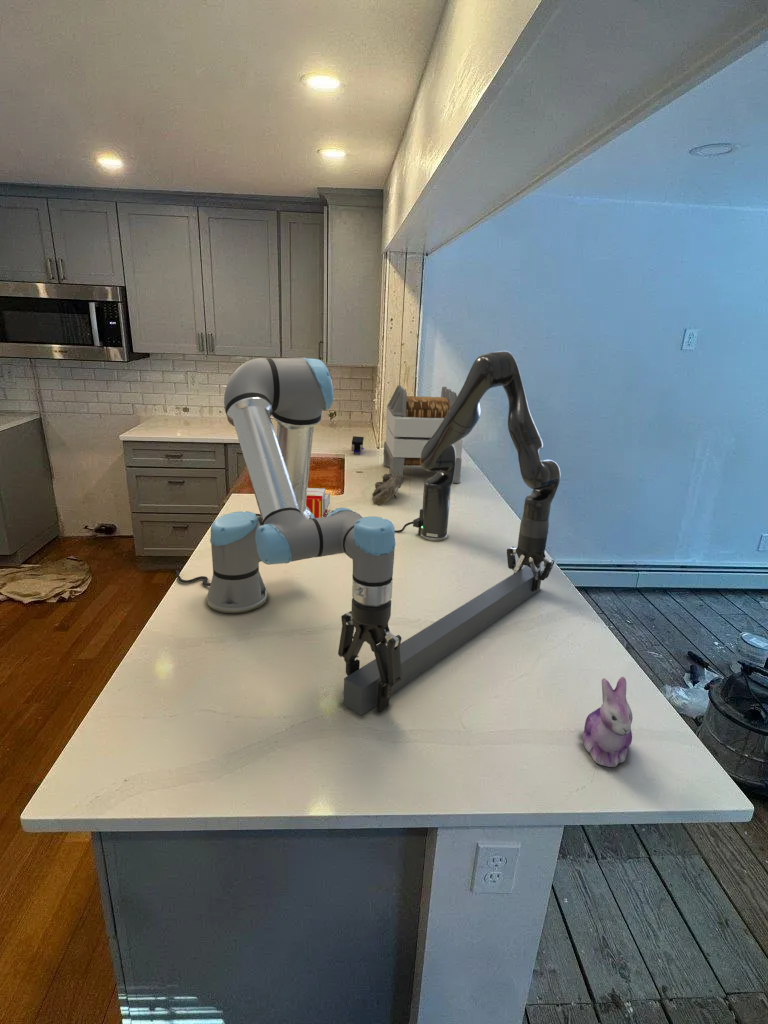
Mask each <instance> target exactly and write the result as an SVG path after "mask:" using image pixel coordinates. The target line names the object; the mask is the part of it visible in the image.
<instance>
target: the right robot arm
mask: <svg viewBox="0 0 768 1024" xmlns="http://www.w3.org/2000/svg"><path fill="white" fill-rule="evenodd" d="M497 387H502V388H503V390H504V391H505V394H506V398H507V400H508V413H507V429H508V433H509V436H510V438H511V441H512V444H513V446H514V448H515V450H516V452H517V460H518V466H519V469H520V470H519V471H520V476H521V478H522V480H523V482H524V484H525V485H526V486H527V487H528V488H530V489H532V491H531V492H530V493H528V494H527V495H526V497H525V498H524V502H523V508H522V509H523V510H522V516H521V519H520V526H519V532H518V538H517V547H514V546H510V547H508V548H507V549H506V559H507V568H508V569H509V570H512V571H513V574H514V573H516V572H518V571H519V570H521V569H522V568H524V567H526V566H528V567H530V568H531V570H532V572H533V576H534V579H533V584H532V591H533V592H535V591H536V590H538V589H539V587H540V588H541V585H540V580H541V582H542V581H545V580H546V579H548V578H549V576H550V574H551V571H552V569H553V567H554V566H555V560H554V559H549V558H548V557H546V554H545V552H546V547H547V540H548V534H549V526H550V523H549V522H550V515H551V507H552V503H553V500H554V499H555V497H556V493H557V490H558V488H559V485H560V481H561V467H560V466H559V465H558V463H557V462H556V461H554V460H552V459H544V460H541V457H540V452H541V451H542V450H543V448H544V443H543V439H542V437H541V435H540V433H539V431H538V428H537V426H536V424H535V422H534V419H533V417H532V414H531V411H530V408H529V403H528V400H527V395H526V392H525V388H524V384H523V380H522V376H521V372H520V369H519V366H518V363H517V360H516V358H515V357H514V355H513V354H512V353H511V352H510V351H508V350H498V351H493V352H487V353H483V354H481V355H479V356H477V358H475V360H474V361H473V363H472V365H471V367H470V370H469V372H468V374H467V375H466V379H465V381H464V383H463V385H462V387H461V389H460V391H459V393H458V394H457V398H456V400H455V401H454V403H453V404H452V406H451V407H450V409H449V411H448V412H447V414H446V416H445V418H444V420H443V421H442V423H441V424H440V426H439V427H438V429H437V430H436V432H435V433H434V435H433V436H432V437H431V438H430V439H429V441H428V442H427V443H426V444H425V446H424V447H423V449H422V452H421V456H420V462H421V466H420V467H422V468H423V470H424V471H427V472H435V474H433V475H432V476H430V477H428V478H427V479H425V480H424V482H423V493H422V496H423V497H422V506H421V508H420V509H419V516H418V517H417V518H414V519H413V521H409V522H407V523H405V524H404V525H403V527H401V529H399V530H395V533H402V532H404V531H405V529H406V527H408V526H410V525H412V527H413V528H418V530H417V535H418V536H420V538H421V539H424V540H426V541H432V542H440V541H444V540H446V539H447V538H448V525H449V517H450V516H449V514H450V504H451V494H452V493H451V491H452V486H453V484H454V483H453V478H454V470H455V464H456V451H455V448H454V446H453V444H454V443H456V442H458V441H460V440H463V439H464V438H466V437H467V436H468V435H469V434H470V433H471V432H472V431H473V429H474V428H475V427H476V425H477V424H478V422H479V419H480V418H481V411H482V410H481V404H480V401H481V399H482V398H483V396H484V395H485V394H486V393H487V391H489V390H490V389H493V388H497ZM255 514H256V516H257V517H261V514H260V513H255ZM516 556H517V559H518V560H516ZM541 563H543V567H544V568H543V570H542V564H541ZM541 570H542V571H543V572H542V573H541Z"/></svg>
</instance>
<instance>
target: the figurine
mask: <svg viewBox="0 0 768 1024" xmlns="http://www.w3.org/2000/svg"><path fill="white" fill-rule="evenodd" d="M601 693H602V695H601V696H602V704H601V706H600V707H597V709H595V710H594V711H592V712H590V713H589V714H588V715H587V717H586V719H585V722H584V727H583V728H584V729H583V734H582V739H583V746H584V748H585V750H586V751H587V752H588V754H589V755H590V756H591V758H592V760H593V761H594V763H595V764H598V765H600V766H604V767H608V768H615V767H617V766H618V764H621V763H625V761H626V759H627V754H628V751H629V747H630V746H631V744H632V742H633V731H632V722H633V712H632V709H631V707H630V704H629V702H628V700H627V679H626V678H625V677H624V676H621V677H619V679H618V680H617V682H616V686H615V688H613V687H612V685H611V683H610V682H609V680H607V678H605V677H603V678H602V679H601Z"/></svg>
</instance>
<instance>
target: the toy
mask: <svg viewBox="0 0 768 1024" xmlns="http://www.w3.org/2000/svg"><path fill="white" fill-rule="evenodd" d="M326 492H327V491H326V488H324V487H323V488H321V487H319V488H318V487H307V497H306V506H307V507H308V508H309V509H310V512H311V513H312V514H313V515H314V517H315V518H321V517H326V516H327V515H326V514H327V512H328V507H329V506H330V504H331V493H330V492H331V491H330V492H327V493H326Z"/></svg>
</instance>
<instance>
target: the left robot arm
mask: <svg viewBox="0 0 768 1024" xmlns="http://www.w3.org/2000/svg"><path fill="white" fill-rule="evenodd" d="M228 379H229V380H228V382H227V384H226V387H225V391H224V396H223V406H224V411H225V416H226V419H227V421H228V423H229V424H230V425H232V426H233V427H234V429H235V432H236V435H237V439H238V442H239V446H240V449H241V454H242V456H243V460H244V464H245V466H246V470H247V474H248V476H249V480H250V484H251V487H252V490H253V494H254V497H255V500H256V503H257V507H258V511H259V514H261V516H256V514H257V513H254V512H252V511H247V510H246V511H243V510H242V511H239V510H238V511H233V512H229V513H226V514H223V515H221V516H219V517H217V518H216V519H215V520H214V521H213V522H212V524H211V526H210V539H209V542H210V547H211V548H210V549H211V559H212V560H211V561H212V578H211V582H208V581H209V578H208V576H204V575H202V576H197V577H193V578H191V579H183V578H182V577H181V575H180V570H179V569H177V570H175V571H174V572H173V573H174V574H175V575H176V578H177V580H178V582H180V583H181V584H190V583H193V582H196V581H201V580H202V585H203V586H205V587H208V591H207V605H208V606H209V607H210V608H211V609H212V610H214V611H216V612H219V613H223V614H244V613H247V612H248V613H249V612H251V611H254V610H257V609H258V608H260V607H261V606H263V605H264V604H265V603H266V602H267V599H268V589H267V587H266V584H265V583H264V580H263V578H262V576H261V573H260V563H261V562H262V563H263V564H265V565H269V566H270V565H279V564H281V565H282V564H289V563H291V562H292V563H293V562H296V561H302V560H307V559H314V558H321V557H327V556H335V555H340V554H345V555H346V556H347V557H348V558H350V559H351V560H352V583H351V585H352V587H351V588H352V590H351V597H352V598H351V610H350V611H348V612H346V613H344V614H342V615H341V616H340V618H341V631H340V639H339V645H338V651H337V654H338V655H337V656H339V657H343V660H344V662H345V675H347V676H349V675H350V674H352V673H353V672H355V671H357V670H358V669H360V665H361V664H360V663H361V661H360V660H359V659H358V658H359V657H360V655H359V653H360V651H361V649H362V647H363V645H364V643H365V642H366V643H367V644H368V645H369V646H370V650H371V652H373V654H374V659H376V662H377V666H378V670H379V673H380V677H381V681H380V682H378V698H377V705H376V712H379V713H381V712H382V711H383V710H385V709H386V708H388V707H389V706H390V697H391V696H392V695H393V694H392V687H393V686H394V685H396V684H397V683H399V682H400V681H401V680H402V674H401V660H400V644H401V643H402V636H401V635H400V634H397V635H394V634H393V633H392V632H391V631H390V627H389V621H390V619H391V616H392V598H393V581H394V580H393V579H394V578H393V577H394V563H395V549H396V538H395V537H396V535H395V534H396V532H395V531H396V529H395V525H394V524H393V522H392V521H391V520H389V519H388V518H382V517H381V516H362V515H360V513H358V512H356V511H354V510H352V509H350V508H348V507H336V508H335V509H333V510H332V511H330V512H329V513H327V515H325V517H321V518H315V517H314V515H313V514H312V513H311V512H310V509H309V508H308V507H307V506H306V497H307V488H309V476H310V469H311V468H310V466H311V458H312V457H311V456H312V448H313V437H314V428H315V426H316V425H317V424H319V423H320V422H321V420H322V415H323V411H327V410H330V409H331V407H332V406H333V403H334V387H333V386H334V385H333V381H332V377H331V374H330V371H329V369H328V367H327V365H326V364H325V363H324V362H323V361H322V360H321V359H318V358H306V357H304V356H302V357H284V358H282V357H280V358H278V357H277V358H276V357H273V358H272V357H271V358H268V357H267V358H265V357H256V358H252V359H250V360H247V361H245V362H244V363H242V364H241V365H240V366H238V367H237V368H236V370H235V371H234V372H233V373H232V374H231V376H230V378H228ZM271 417H272V418H273V419H274V420H275V421H276V431H275V428H274V423H273V422H272V421H273V420H272V419H271ZM179 575H180V576H179ZM347 676H346V677H347Z"/></svg>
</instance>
